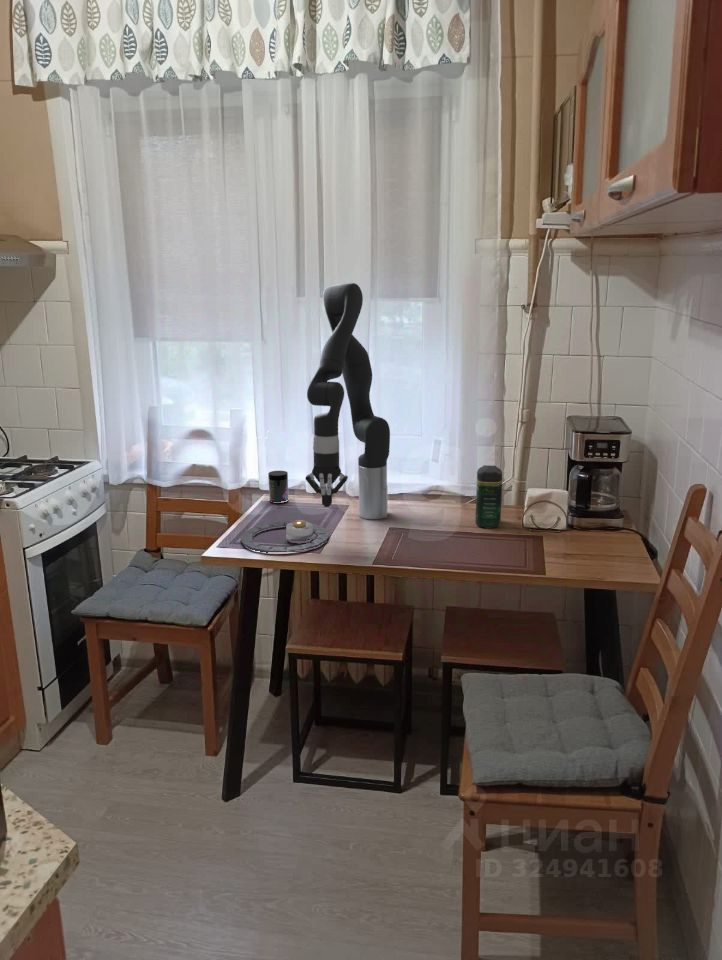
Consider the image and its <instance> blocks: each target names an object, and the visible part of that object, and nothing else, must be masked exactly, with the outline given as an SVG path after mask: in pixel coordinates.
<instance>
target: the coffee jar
mask: <svg viewBox="0 0 722 960" xmlns="http://www.w3.org/2000/svg"><path fill="white" fill-rule="evenodd" d="M475 496H476V497H475V524H476V526H477V527H482V528H485V529H492V528H498V527H499V526H501V517H502V501H503V500H502V498H503V497H502V496H503V472H502V469H501V468H499V467H498V466H496V465H490V464H489V465H486V464H484V465H483V466H481V467H479V468H478V469H477V471H476V494H475Z"/></svg>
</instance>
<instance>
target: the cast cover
mask: <svg viewBox="0 0 722 960" xmlns="http://www.w3.org/2000/svg"><path fill="white" fill-rule="evenodd" d="M291 522H292V523H289V524H287V525H286V528H285V529H286V530H285V531H286V533H285V534H286V540H287V539H288V540H291V541H306V540H310V539H312V538H313V539H314V532H313V525H312V524H313V523H311V522H308V521H306V520H304V519H296V520H293V521H291Z"/></svg>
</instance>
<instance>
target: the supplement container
mask: <svg viewBox="0 0 722 960" xmlns="http://www.w3.org/2000/svg"><path fill="white" fill-rule="evenodd" d="M267 474H268V475H267V476H268V478H267V479H268V492H269V493H268V494H269V495H268V496H269V501H272V502H281V501H286V500H288V498H289V479H288V478H289V475H288V471H285V470H272V471H268V473H267ZM288 501H289V500H288Z"/></svg>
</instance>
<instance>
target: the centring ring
mask: <svg viewBox="0 0 722 960" xmlns="http://www.w3.org/2000/svg"><path fill="white" fill-rule="evenodd" d="M292 522H293V521H277V522H269V523H268V522H267V523H264V524H261V525H257V526H253V527H251V528H250V529H248V530H246V531H244V532H243V534H242V535H241V537H240V542H241V541H242V542H241V544H242V543H243V544H242V546H243V545H244V546H246V547H248V548H250V549H252V550H255V551H260V552H266V553H268V552H287V551H295V550H304V549H309V548H313V547H317V546H319V545H321V544H322V543H325V542H328V541H327V539H328V540H329V538H330V533H329V532H328V530H327V529H326V528H325V527H323V526H321V525H318V524H316V523H311V524H312V525H313V530H314V531H316V532H317V534H318V536H317V537H316V538H315V539H313V541H311V542H309V543H306V544H298V545H294V546H293V545H292V546H284V547H283V546H269V545H264V544H263V545H262V544H260V543H257V542H255V541H254V540H253V539H252V537H253V535H254V534H256V533H257V532H259V531H261V530H264V529H268V528H271V527H279V526H286V525H287V524H289V523H292ZM328 537H329V538H328ZM253 538H254V537H253ZM244 546H243V547H244Z"/></svg>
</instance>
